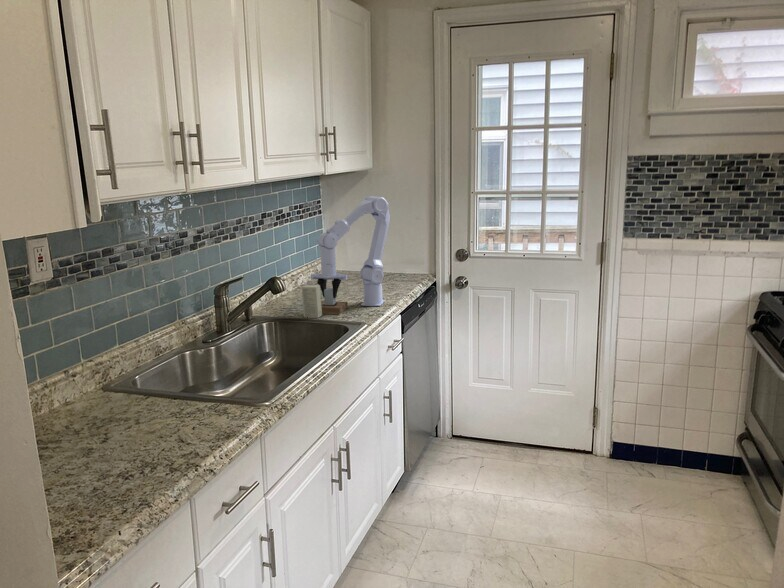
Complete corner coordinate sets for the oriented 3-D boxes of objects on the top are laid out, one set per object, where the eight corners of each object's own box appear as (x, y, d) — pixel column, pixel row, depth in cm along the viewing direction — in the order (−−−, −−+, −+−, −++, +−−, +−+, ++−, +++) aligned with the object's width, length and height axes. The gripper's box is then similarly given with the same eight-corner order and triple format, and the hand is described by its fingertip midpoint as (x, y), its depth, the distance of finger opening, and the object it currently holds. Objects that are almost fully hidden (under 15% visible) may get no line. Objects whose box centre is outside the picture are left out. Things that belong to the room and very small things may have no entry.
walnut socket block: (322, 307, 263) (321, 301, 263) (347, 307, 261) (347, 301, 260) (312, 313, 253) (312, 307, 252) (339, 314, 251) (339, 308, 250)
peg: (327, 302, 258) (326, 288, 257) (335, 303, 258) (335, 288, 256) (324, 304, 255) (323, 290, 254) (333, 305, 254) (332, 290, 253)
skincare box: (322, 315, 250) (320, 284, 247) (318, 318, 245) (316, 287, 243) (307, 314, 251) (305, 284, 249) (302, 317, 247) (301, 286, 245)
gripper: (307, 265, 251) (309, 299, 254) (343, 265, 248) (344, 300, 250) (313, 262, 257) (315, 295, 260) (348, 262, 254) (349, 296, 257)
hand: (329, 297), depth 256 cm, fingers closed on peg, 3 cm apart
